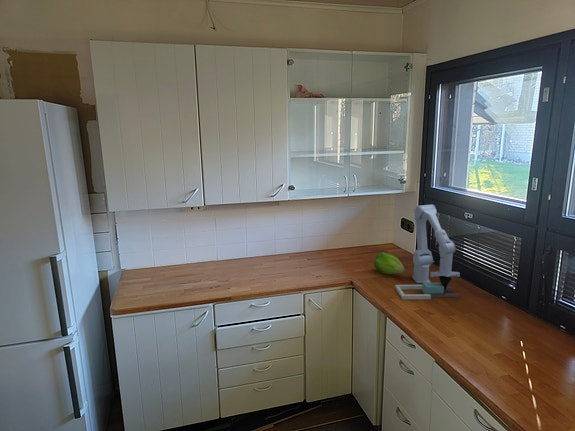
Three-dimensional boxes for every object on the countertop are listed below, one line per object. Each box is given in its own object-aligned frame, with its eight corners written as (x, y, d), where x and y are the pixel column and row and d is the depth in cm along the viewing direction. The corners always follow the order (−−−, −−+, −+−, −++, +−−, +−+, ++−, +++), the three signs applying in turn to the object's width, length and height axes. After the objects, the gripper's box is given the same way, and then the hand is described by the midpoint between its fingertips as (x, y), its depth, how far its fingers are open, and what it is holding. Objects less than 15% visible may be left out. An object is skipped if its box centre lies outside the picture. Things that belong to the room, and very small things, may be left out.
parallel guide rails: (424, 289, 206) (424, 287, 206) (451, 289, 206) (452, 287, 206) (430, 297, 197) (430, 294, 197) (459, 297, 197) (459, 294, 197)
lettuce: (393, 282, 217) (394, 262, 215) (369, 271, 234) (369, 253, 231) (410, 277, 225) (411, 257, 222) (385, 267, 241) (385, 249, 239)
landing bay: (395, 288, 209) (395, 284, 208) (421, 288, 209) (421, 284, 208) (402, 299, 195) (402, 295, 195) (430, 299, 195) (430, 295, 195)
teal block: (422, 291, 204) (422, 282, 203) (439, 291, 204) (439, 282, 203) (426, 296, 199) (426, 287, 197) (443, 296, 198) (444, 287, 197)
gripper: (434, 267, 194) (432, 292, 197) (463, 267, 194) (460, 292, 197) (429, 262, 201) (428, 286, 204) (457, 262, 201) (455, 286, 204)
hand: (443, 289), depth 201 cm, fingers closed
